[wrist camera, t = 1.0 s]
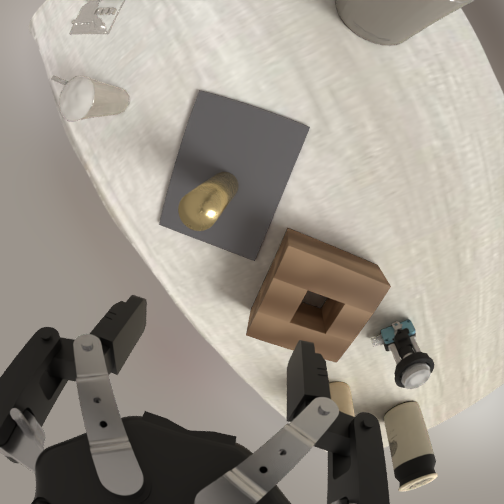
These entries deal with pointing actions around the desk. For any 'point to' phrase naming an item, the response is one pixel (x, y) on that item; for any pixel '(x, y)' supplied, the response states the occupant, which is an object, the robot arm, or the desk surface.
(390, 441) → the travel mug
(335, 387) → the candle
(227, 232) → the mat
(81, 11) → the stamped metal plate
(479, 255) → the desk surface
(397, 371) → the push button
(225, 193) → the pin
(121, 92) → the milkshake
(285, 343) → the socket block
